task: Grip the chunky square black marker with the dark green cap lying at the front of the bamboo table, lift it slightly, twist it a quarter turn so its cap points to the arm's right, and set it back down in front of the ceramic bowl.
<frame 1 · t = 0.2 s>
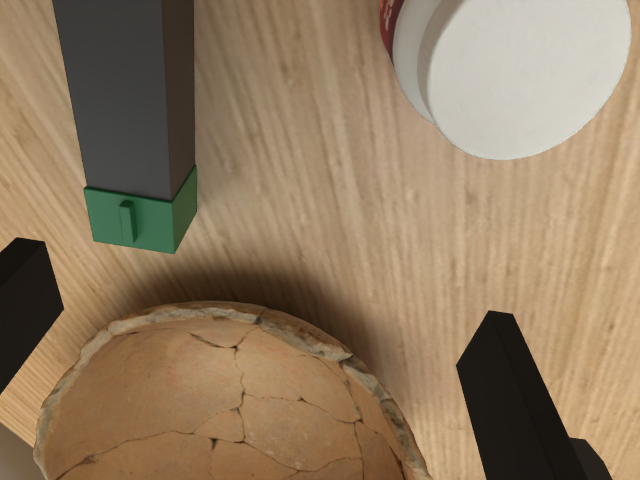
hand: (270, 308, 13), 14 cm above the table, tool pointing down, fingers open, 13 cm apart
marker: (162, 206, 27), on the table
pill bottle: (440, 9, 20), on the table
ceramic bowl: (248, 381, 39), on the table
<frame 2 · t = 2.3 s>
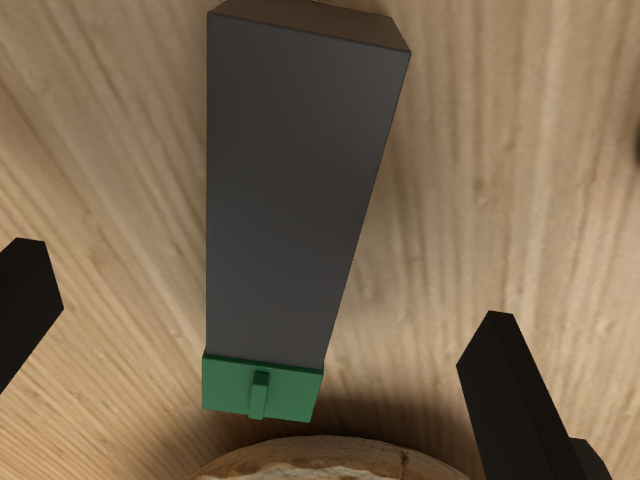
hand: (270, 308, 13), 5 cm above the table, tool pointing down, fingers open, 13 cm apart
marker: (271, 331, 21), on the table
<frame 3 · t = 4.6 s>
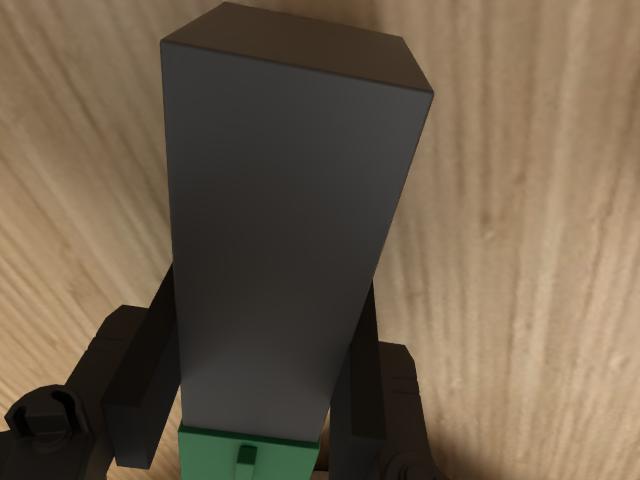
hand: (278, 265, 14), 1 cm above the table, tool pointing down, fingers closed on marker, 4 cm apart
marker: (262, 379, 19), point 1 cm above the table, touching gripper
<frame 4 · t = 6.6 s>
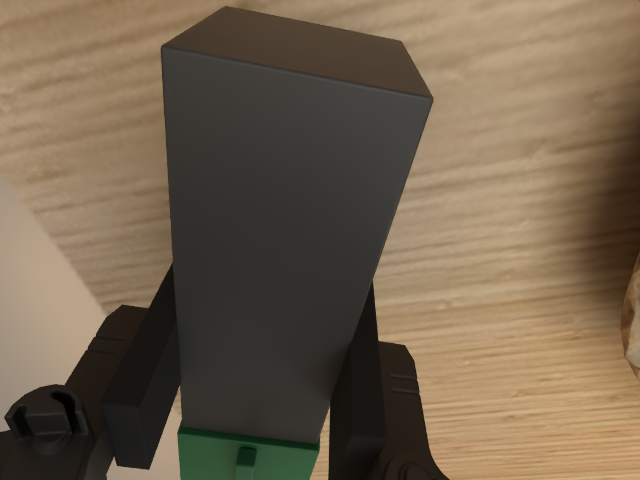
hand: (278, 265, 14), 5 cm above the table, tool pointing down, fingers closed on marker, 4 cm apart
marker: (261, 380, 19), point 4 cm above the table, touching gripper
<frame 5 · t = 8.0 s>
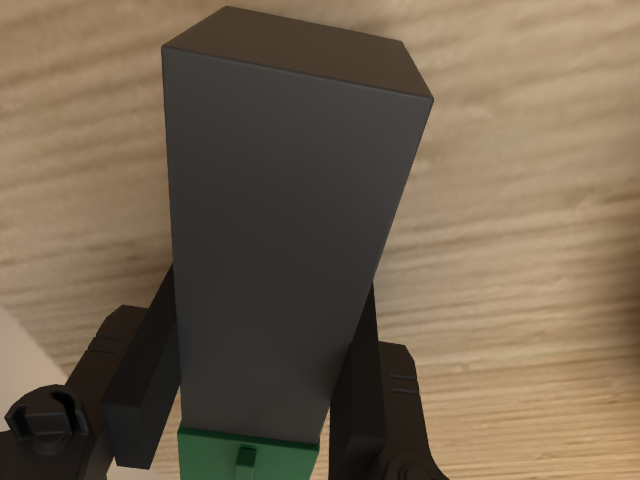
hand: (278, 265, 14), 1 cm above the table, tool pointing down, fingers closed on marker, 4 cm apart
marker: (261, 381, 19), on the table, touching gripper
when the fingers open (0 cm above the table, at t = 8.4 s): marker stays where it is, on the table.
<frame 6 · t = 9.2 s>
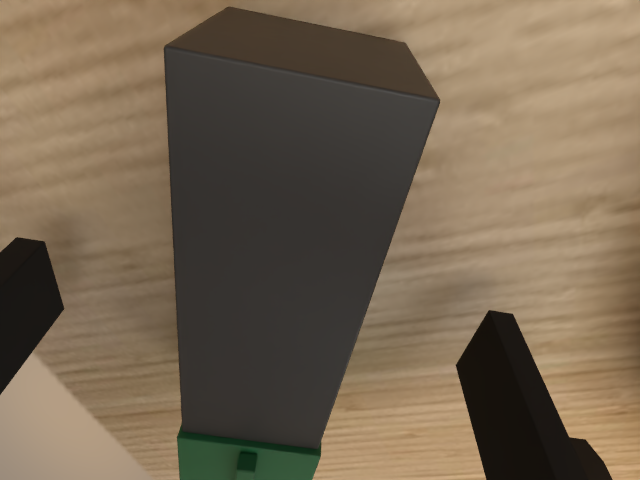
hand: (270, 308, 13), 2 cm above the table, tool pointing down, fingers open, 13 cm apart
marker: (262, 384, 19), on the table
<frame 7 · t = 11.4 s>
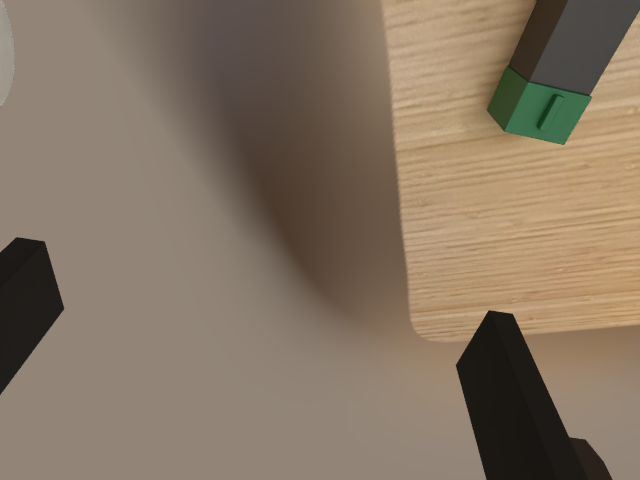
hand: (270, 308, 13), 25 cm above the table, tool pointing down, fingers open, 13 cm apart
marker: (513, 116, 33), on the table
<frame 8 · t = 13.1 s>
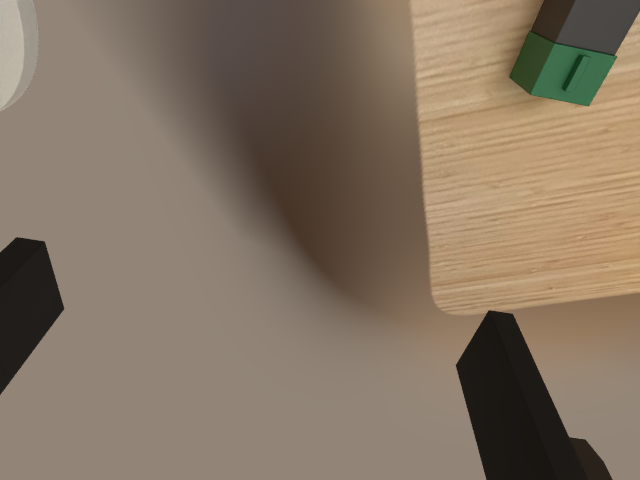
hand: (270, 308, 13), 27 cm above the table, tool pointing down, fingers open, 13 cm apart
marker: (535, 82, 34), on the table
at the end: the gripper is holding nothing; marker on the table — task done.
